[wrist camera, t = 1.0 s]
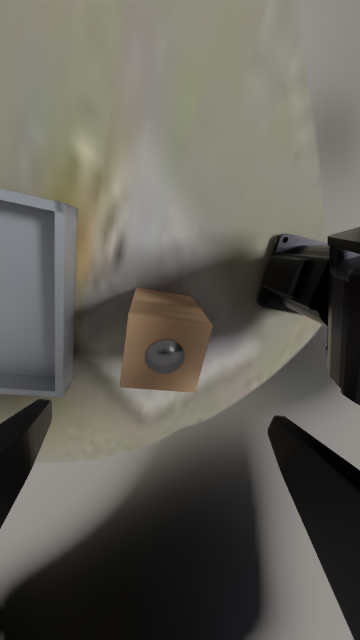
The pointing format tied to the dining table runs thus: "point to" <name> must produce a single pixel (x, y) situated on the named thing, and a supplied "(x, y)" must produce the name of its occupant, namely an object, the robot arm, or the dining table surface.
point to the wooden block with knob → (164, 342)
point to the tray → (36, 294)
